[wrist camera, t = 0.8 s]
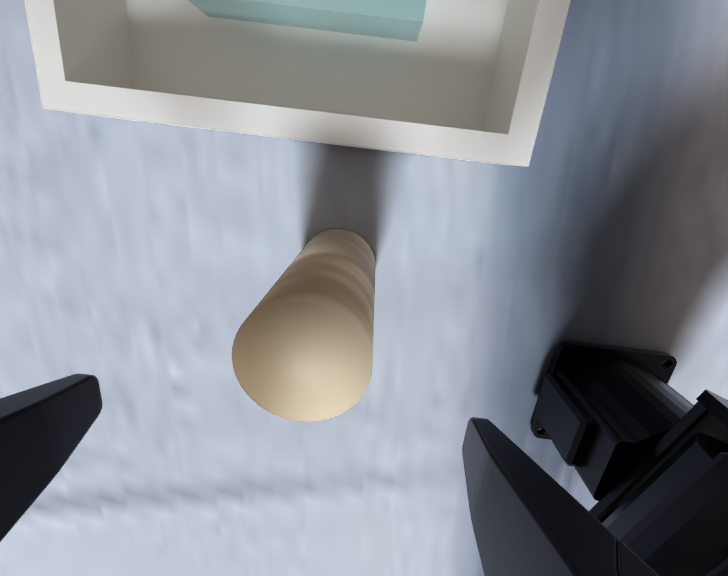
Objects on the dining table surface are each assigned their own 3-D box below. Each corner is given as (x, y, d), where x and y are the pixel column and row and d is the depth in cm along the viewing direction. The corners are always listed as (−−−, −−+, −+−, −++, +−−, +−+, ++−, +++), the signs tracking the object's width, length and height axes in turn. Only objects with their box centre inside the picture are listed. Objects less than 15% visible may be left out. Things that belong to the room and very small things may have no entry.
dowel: (379, 232, 19) (380, 308, 10) (370, 303, 21) (364, 428, 11) (303, 223, 19) (230, 290, 10) (299, 294, 20) (232, 413, 11)
